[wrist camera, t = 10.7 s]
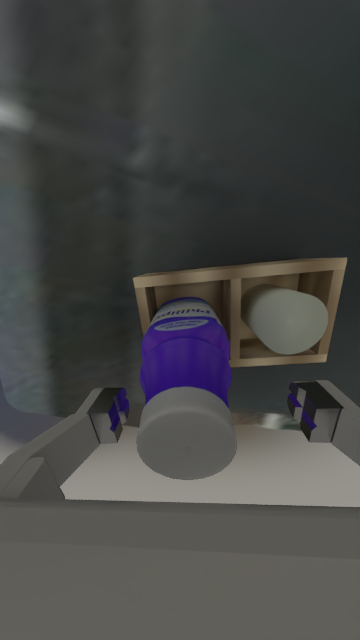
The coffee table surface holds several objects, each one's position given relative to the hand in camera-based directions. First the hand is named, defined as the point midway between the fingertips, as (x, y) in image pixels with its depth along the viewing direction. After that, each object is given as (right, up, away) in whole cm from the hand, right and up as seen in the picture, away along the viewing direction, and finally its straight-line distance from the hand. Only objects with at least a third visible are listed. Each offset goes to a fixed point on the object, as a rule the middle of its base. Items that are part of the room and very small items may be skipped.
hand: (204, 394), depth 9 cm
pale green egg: (+10, +5, +14) cm, 18 cm away
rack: (+5, +5, +15) cm, 17 cm away
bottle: (-1, +4, +15) cm, 15 cm away
